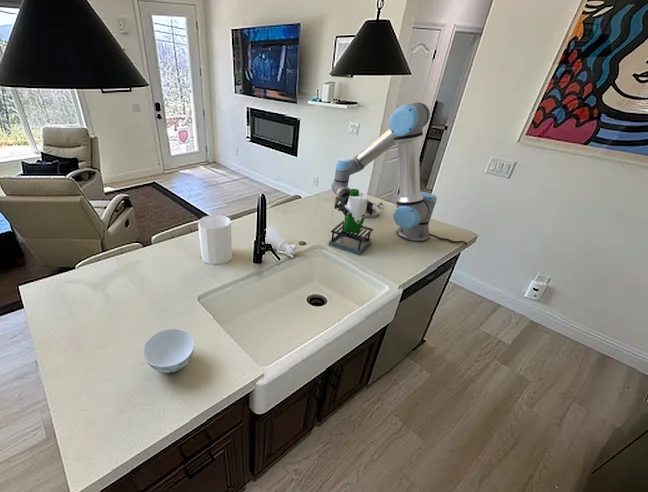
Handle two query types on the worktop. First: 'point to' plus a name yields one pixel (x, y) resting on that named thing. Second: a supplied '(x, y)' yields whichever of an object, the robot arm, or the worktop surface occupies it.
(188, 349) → the chinaware
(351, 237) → the dish rack
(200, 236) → the container
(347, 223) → the soya milk
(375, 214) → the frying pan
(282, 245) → the rocket engine
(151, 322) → the worktop surface
